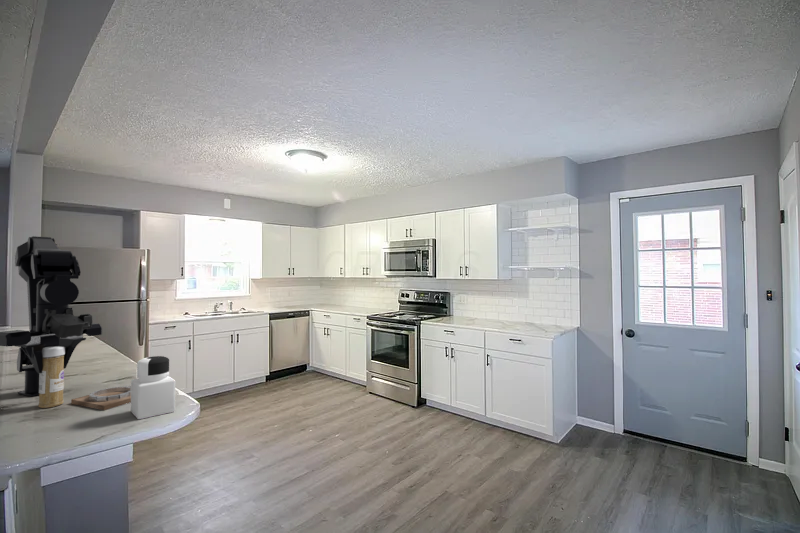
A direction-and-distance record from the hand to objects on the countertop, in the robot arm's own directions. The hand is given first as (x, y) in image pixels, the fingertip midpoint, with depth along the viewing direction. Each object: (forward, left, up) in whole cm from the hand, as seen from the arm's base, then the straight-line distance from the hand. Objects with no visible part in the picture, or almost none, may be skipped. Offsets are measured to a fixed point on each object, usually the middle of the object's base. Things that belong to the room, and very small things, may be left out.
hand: (51, 370), depth 92 cm
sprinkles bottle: (0, 0, -8) cm, 8 cm away
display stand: (+9, +8, -8) cm, 14 cm away
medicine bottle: (+26, +6, -8) cm, 28 cm away
